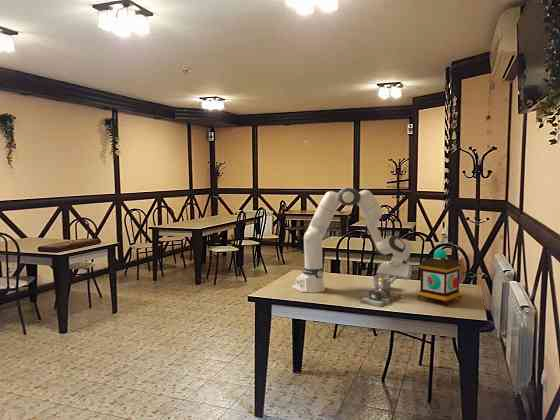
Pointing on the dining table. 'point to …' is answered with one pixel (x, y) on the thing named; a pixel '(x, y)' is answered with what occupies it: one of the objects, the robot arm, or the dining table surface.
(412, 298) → the dining table surface
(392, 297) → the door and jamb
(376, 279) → the teacup
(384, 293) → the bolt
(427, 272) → the decorative lantern
